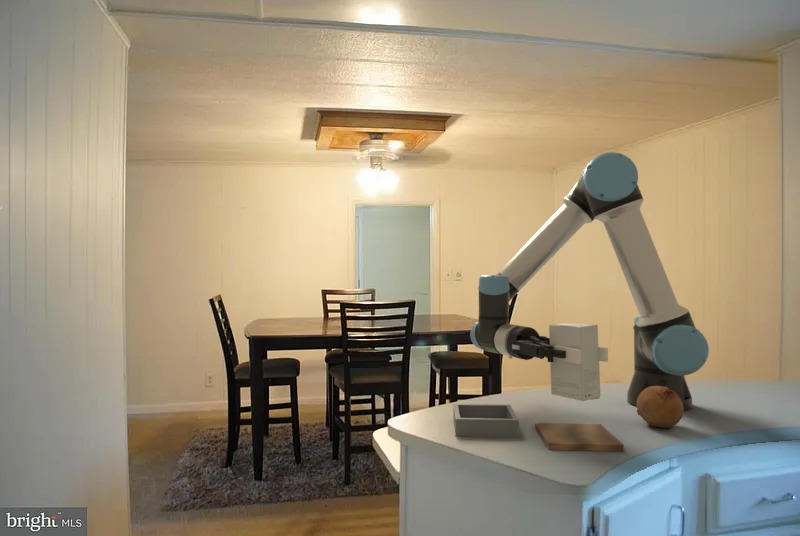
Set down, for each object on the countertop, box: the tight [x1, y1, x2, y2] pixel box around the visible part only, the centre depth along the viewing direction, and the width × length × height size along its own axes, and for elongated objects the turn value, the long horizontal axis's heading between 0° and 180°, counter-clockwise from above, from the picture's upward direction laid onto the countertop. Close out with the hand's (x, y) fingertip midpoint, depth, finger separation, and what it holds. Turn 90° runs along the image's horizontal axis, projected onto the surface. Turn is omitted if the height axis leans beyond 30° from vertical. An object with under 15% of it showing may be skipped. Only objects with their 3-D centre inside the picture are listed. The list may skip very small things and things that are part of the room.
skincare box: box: [548, 322, 601, 402], centre depth 108 cm, size 8×6×15 cm
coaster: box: [534, 422, 625, 452], centre depth 108 cm, size 14×14×1 cm
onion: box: [636, 386, 685, 429], centre depth 118 cm, size 10×9×10 cm
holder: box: [452, 403, 520, 438], centre depth 116 cm, size 13×13×4 cm
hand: (593, 355), depth 104 cm, fingers closed on skincare box, 6 cm apart
